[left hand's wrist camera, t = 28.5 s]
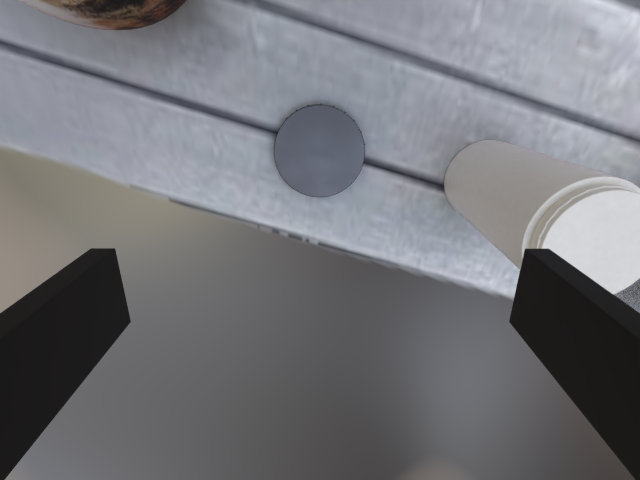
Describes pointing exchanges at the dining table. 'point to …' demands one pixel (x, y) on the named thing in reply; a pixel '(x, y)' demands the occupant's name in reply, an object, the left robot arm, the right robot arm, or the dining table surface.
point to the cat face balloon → (108, 12)
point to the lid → (319, 150)
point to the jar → (549, 209)
